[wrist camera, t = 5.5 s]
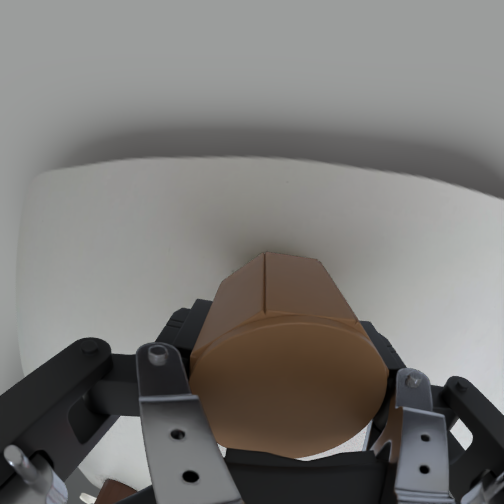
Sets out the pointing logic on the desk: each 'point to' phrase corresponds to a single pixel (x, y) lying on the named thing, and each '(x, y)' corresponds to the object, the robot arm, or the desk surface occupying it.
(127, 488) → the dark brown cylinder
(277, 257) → the brown octagonal prism
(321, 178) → the desk surface
